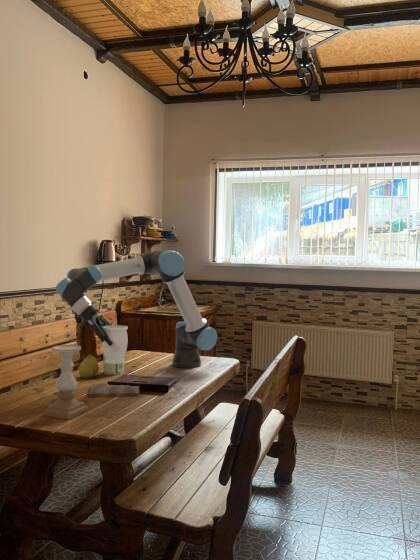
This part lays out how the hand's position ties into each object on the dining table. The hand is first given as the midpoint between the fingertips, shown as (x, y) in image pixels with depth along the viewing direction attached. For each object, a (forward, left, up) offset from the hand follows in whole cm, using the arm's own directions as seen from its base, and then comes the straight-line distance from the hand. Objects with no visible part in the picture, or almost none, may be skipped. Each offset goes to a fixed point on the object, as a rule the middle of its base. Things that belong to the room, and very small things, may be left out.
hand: (121, 348), depth 205 cm
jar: (+3, -1, -6) cm, 7 cm away
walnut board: (+3, -1, -18) cm, 18 cm away
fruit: (+16, -26, -19) cm, 35 cm away
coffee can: (+5, -35, -19) cm, 40 cm away
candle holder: (+19, +27, -19) cm, 38 cm away
